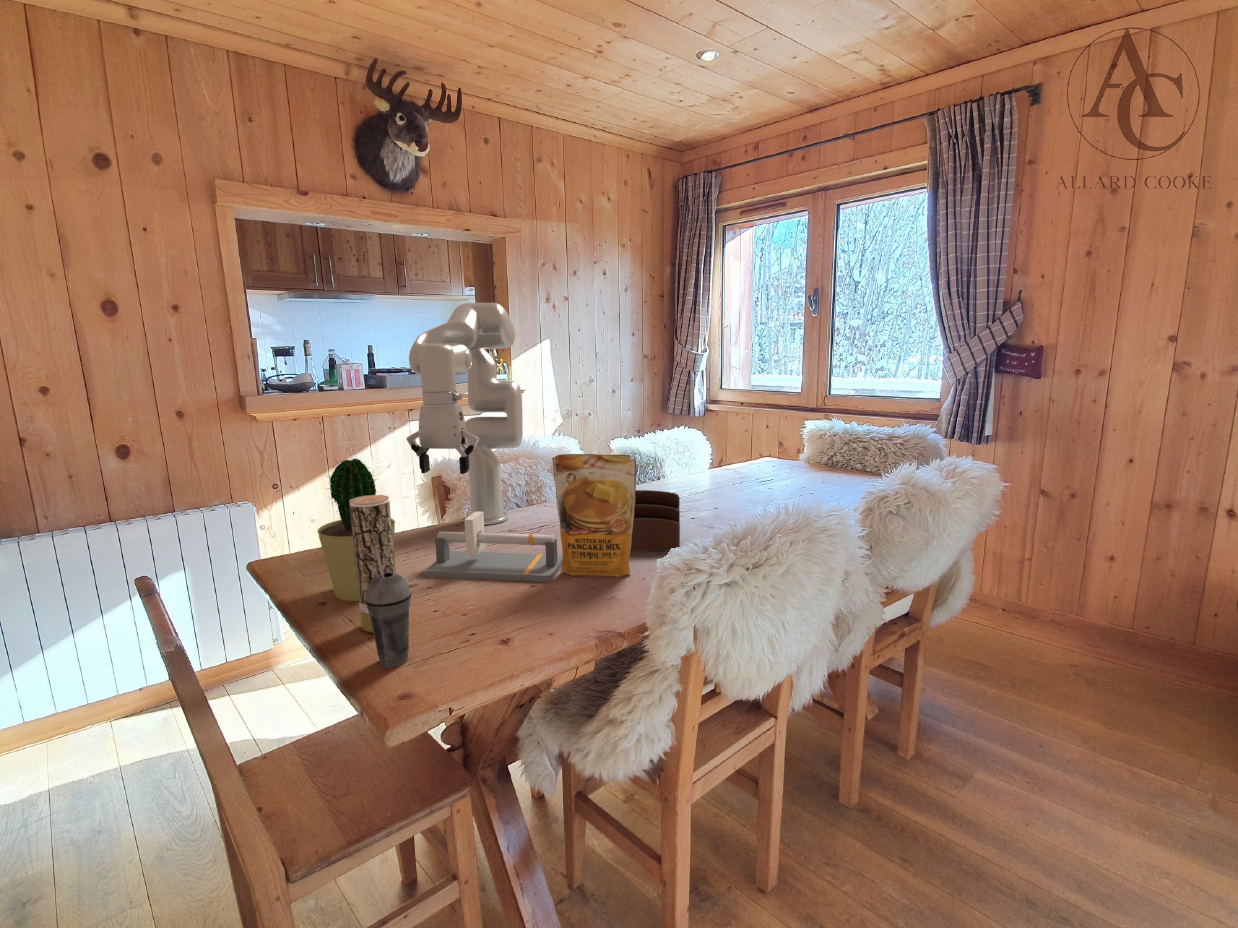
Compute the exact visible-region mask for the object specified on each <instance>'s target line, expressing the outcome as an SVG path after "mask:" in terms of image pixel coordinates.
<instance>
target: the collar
mask: <svg viewBox="0 0 1238 928" xmlns="http://www.w3.org/2000/svg"><path fill="white" fill-rule="evenodd" d="M470 514H471V513H470ZM466 517H467V516H466ZM466 517H465V519H464V532H465V537H466V543H465V547H466V553H467V557H475V556H477V555H478V554H479V553H480V552H483V550H484V549H486V543H477V533H486V531H485V525H484V513H483V512H474V513H473V514H471V515H470V516H469V517H467V518H466Z"/></svg>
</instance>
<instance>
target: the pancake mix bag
mask: <svg viewBox="0 0 1238 928" xmlns="http://www.w3.org/2000/svg"><path fill="white" fill-rule="evenodd" d="M551 459H552V468H553V480H554V485H555V486H554V487H555V498H556V499H555V501H556V507H557V515H558V516H557V517H558V519H559V529H560V531H559V532H560V542H561V549H562V554H561V555H562V566H561V568H560V573H562V574H564V573H565V574H567V575H568V576H570V577H582V578H583V577H584V578H607V579H608V578H609V579H610V578H611V579H614V578H615V579H616V578H617V579H619V578H620V579H621V578H622V577H623V576H628V575H629V576H630V575H631V569H630V565H629V560H630V556H631V555H630V554H631V551H630V549H631V538H632V529H633V520H634V507H635V499H636V489H637V488H636V487H637V486H636V485H637V461H636V458H631V455H629V454H597V453H564V454H557V455H555V456H553V457H552V458H551Z"/></svg>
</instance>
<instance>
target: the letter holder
mask: <svg viewBox="0 0 1238 928" xmlns="http://www.w3.org/2000/svg"><path fill="white" fill-rule="evenodd" d="M680 514H681V512H680V496H679V494H677V493H675V492H670V491H663V490H651V489H650V490H648V489H643V490H642V489H639V490H638V489H637V490H636V499H635V507H634V520H633V529H632V538H631V549H630V550H670V549H671V548H676V547H680V548H681V545H680V544H681V543H680V542H681V541H680V540H681V537H680V536H681V526H680V525H681V523H680Z"/></svg>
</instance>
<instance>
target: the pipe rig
mask: <svg viewBox="0 0 1238 928" xmlns="http://www.w3.org/2000/svg"><path fill="white" fill-rule="evenodd" d="M450 543H463V544H464V543H465V544H466V537H465V531H464V532H462V531H459V532H458V531H439V532H438V533H437V537H435V538H434V544H435V556H436V557H435V558H436V559H435V560H436V561H435V562H433V563H432V564H431V565H429V567H427V568H426V569H425V570H424V577H425V578H441V579H442V578H444V579H445V578H446V579H465V580H466V579H467V580H468V579H469V580H490V581H492V580H493V581H511V582H512V581H515V582H534V583H535V582H539V583H552V582H553V580H554V579H555V577H556V576H557V574H558V572H559V571H560V570H561V567H562V554H558V539H557V538H555V535H553V534H535V533H532V534H531V533H529V534H526V533H524V534H521V533H520V534H519V533H491V532H485V533H477V543H485V544H491V545H493V544H497V545H498V544H499V545H526V546H545V553H528V552H527V553H525V552H523V553H522V552H499V551H498V552H491V551H481V552H480V553H479V554H478V555H477V556H475V557H467V553H466V551H465V550H464V551H463V550H450V545H449V544H450Z"/></svg>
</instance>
